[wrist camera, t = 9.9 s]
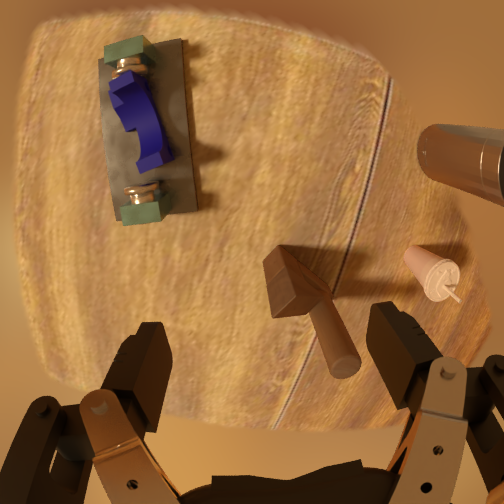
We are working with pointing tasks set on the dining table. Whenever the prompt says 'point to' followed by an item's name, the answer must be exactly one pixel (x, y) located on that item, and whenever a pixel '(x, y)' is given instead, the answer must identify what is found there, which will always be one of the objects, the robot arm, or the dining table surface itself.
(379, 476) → the robot arm
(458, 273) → the smoothie
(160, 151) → the blue curved bracket
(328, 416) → the dining table surface
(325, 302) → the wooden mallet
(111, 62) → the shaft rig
